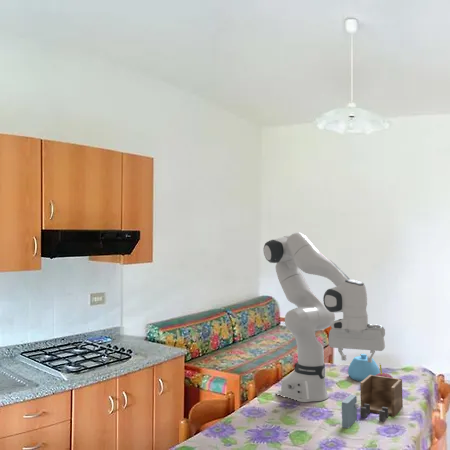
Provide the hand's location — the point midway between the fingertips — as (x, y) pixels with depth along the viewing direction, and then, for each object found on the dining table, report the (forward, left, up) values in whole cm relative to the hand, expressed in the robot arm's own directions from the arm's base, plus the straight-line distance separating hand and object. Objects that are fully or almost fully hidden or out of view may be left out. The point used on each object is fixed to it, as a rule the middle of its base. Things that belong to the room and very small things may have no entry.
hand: (356, 361), depth 179 cm
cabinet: (+3, +17, -23) cm, 28 cm away
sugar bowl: (-16, +58, -23) cm, 65 cm away
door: (-3, -2, -23) cm, 23 cm away
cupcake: (-3, +45, -23) cm, 51 cm away
